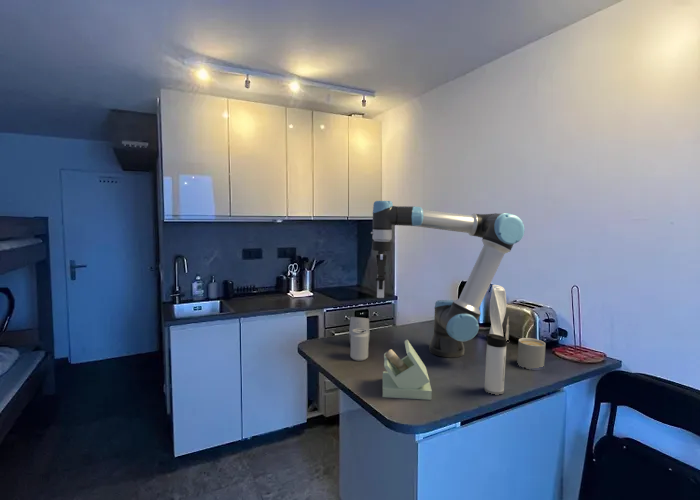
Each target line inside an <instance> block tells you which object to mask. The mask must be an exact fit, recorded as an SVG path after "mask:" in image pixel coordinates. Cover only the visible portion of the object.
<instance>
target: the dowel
mask: <svg viewBox="0 0 700 500" xmlns="http://www.w3.org/2000/svg"><path fill="white" fill-rule="evenodd" d="M386 352H387V353H386ZM386 352H385V353H386V354H385V353H384V354H385V356H386V357H387V359H388V360H389V361H390V362H391V363H392V364H393V365H394V366H395V367H396V368H397V369H398V370H399V371H400V372H403V371H405V370H406V369H408V368H409V367H408V366H407V365H406V364H405V363H404V362H403V361H402V360H401V359H402V358H400V357H399V356H398V355H397V354H396V352H395V351H394V350H393V349H389V350H388V351H386Z"/></svg>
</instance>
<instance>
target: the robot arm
mask: <svg viewBox="0 0 700 500" xmlns="http://www.w3.org/2000/svg"><path fill="white" fill-rule="evenodd" d="M372 205H373V206H372V231H370V234H371V235H372V240H373V241H372V243H371V249H372V251H374V252H375V251H376V252H377V254H376V266H377V277H375V281H377V282H376V298H378V299H384V298H385V280H386V279H385V275H386V273H387V272H386V271H385V267H386V265H387V264H386V263H387V254H385V252H390V251H392V241H391V240H392V239H393V237H392V235H393V233H392V232H393V229H392V228H393V226H406V227H407V226H409V227H418V228H426V229H433V230H442V231H450V232H457V233H458V232H459V233H466V234H468V235H469V236H471V237H478V238H481V241H482V246H483V247H481V251H480V252H479V254H478V257H477V258H476V261H475V264H474V265H473V267H472V269H471V272H470V274H469V276H468V278H467V280H466V283H465V284H464V287H463V288H462V291H461V293H460V295H459V298H458V299H454V300H453V299H439V300H436V301H435V303H434V318H433V319H434V321H433V322H434V323H433V335H432V338H431V340H430V343H429V345H428V347H429V348H428V351H429V352H430V353H431V354H433V355H435V356H438V357H444V358H460V357H462V356H464V355H465V345H464V343H463V342H468V341H471V340H472V339H473V338H475V337H476V335H477V334H478V333H479V329H480V328H479V327H480V326H479V319H480V317H481V315H482V314H481V311H480V307H481V306H482V302H484V301H483V300H484V298H485V297H486V294H487V292H488V291H489V288H490V285H491V284H492V281H493V279H494V277H495V275H496V273H497V271H498V269H499V266H500V264H501V263H502V260H503V258H504V256H505V254H507V253H508V254H509V253H510V252H511V251H512V248H513V247H514V245H515V244H517V243H519V242H520V241H521V240H522V239H523V238H524V236H525V235H524V234H525V225H524V222H523V220H522V219H521V218H520V217H519V216H518V215H516V214H512V213H508V212H504V213H496V212H495V213H472V214H460V213H456V212H446V211H437V210H430V209H429V210H428V209H423V207H421V206H413V205H412V206H409V205H408V206H399V205H398V206H395V205H393V201H391V200H376V201H374V202H373V204H372Z"/></svg>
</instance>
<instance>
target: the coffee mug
mask: <svg viewBox="0 0 700 500" xmlns="http://www.w3.org/2000/svg"><path fill="white" fill-rule="evenodd" d="M545 358H546V342H544V341H542V340H540V339H537V338H531V337H522V338H519V339H518V343H517V358H516V364H517V363H518V364H519V365H521V366H524V367H530V368H539V367H543V366H544V367H545V361H546V360H545Z"/></svg>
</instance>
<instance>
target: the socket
mask: <svg viewBox="0 0 700 500" xmlns="http://www.w3.org/2000/svg"><path fill="white" fill-rule="evenodd" d="M404 346H405V351H406V354H407V355H406V356H403V358H400V359H401V360H402V361H403V362H404V363H405V364H406V365H407V366H408V367H409V368H408V369H406V370H405V371H403V372H400V371H399V370H398V369H397V368H396V367H395V366H394V365H393V364H392V363H391V362H390V361H389V360H388V359H387V357H386V356H385V354H386V353H387V352H388V351H386V352H385V353H384V354H383V360H384V361H383V362H384V363H383V367H384V369H385V371H382V398H394V399H410V400H411V399H412V400H426V401H427V400H429V401H430V400H432V395H433V389H432V387H431V383H430V376H429V375H428V373H429V372H428V370H427V367H426V365H425V363H424V362H423V361H422V359H421V357H420V356H419V355H418V353H417V352H416V350H415V349H414V347H413V346H412V344H411V343H410V341H409V340H408V339H406V340H404Z"/></svg>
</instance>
